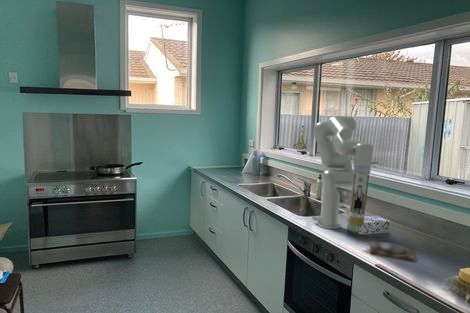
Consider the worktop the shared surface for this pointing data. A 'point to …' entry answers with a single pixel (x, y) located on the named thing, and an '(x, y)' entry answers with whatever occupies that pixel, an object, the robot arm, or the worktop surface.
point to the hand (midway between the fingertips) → (357, 206)
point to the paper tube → (355, 214)
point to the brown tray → (392, 251)
